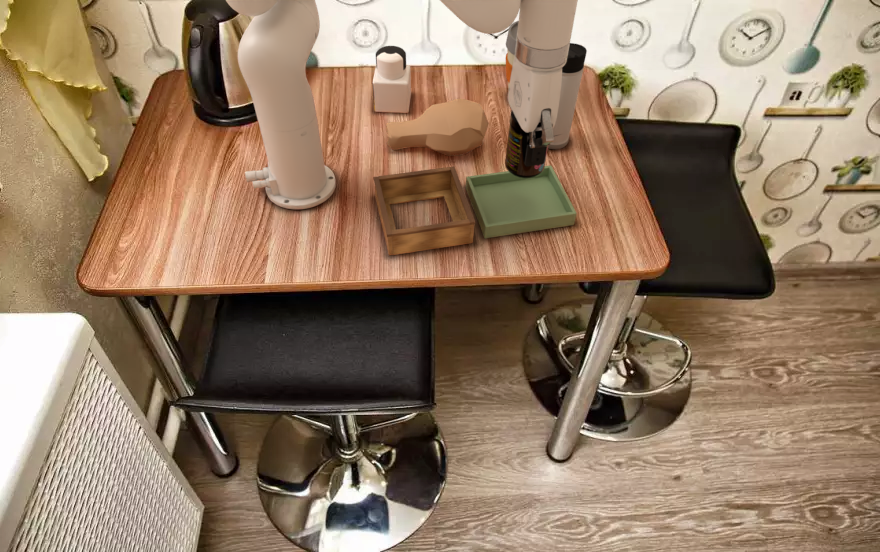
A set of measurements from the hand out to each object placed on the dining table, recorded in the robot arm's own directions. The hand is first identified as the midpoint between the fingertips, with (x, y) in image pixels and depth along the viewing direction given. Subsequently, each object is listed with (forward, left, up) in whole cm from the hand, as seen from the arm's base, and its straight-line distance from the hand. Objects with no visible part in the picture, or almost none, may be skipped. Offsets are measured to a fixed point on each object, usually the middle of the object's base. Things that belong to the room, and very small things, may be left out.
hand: (527, 149), depth 102 cm
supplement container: (0, 0, -4) cm, 4 cm away
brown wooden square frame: (-18, 0, -13) cm, 22 cm away
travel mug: (+12, +17, -13) cm, 25 cm away
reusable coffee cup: (+12, +32, -13) cm, 37 cm away
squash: (-11, +20, -13) cm, 26 cm away
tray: (0, 0, -13) cm, 13 cm away
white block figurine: (-17, +36, -13) cm, 42 cm away
